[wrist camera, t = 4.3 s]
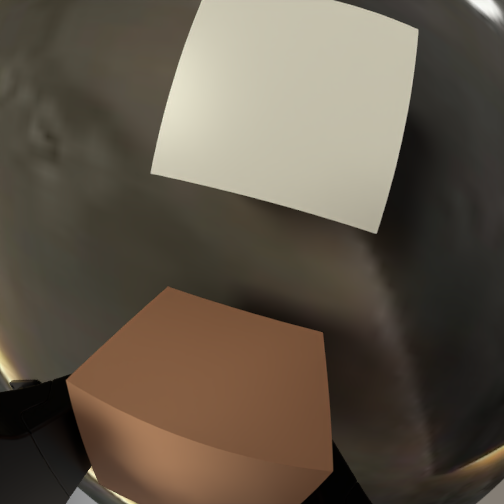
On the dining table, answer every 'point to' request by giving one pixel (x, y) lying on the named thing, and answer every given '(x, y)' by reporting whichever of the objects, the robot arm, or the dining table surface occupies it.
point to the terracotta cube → (206, 406)
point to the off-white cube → (291, 105)
